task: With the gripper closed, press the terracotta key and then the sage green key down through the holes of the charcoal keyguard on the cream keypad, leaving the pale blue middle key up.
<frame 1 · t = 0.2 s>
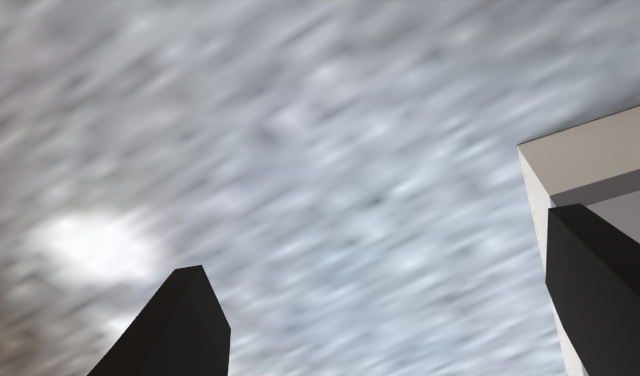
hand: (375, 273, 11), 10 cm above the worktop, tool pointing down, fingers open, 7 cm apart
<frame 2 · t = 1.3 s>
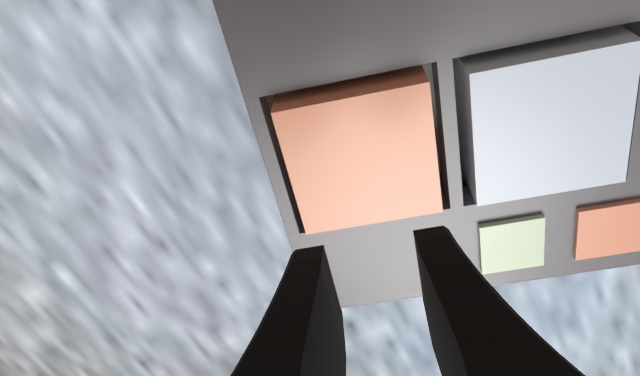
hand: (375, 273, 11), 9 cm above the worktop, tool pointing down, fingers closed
terracotta key: (359, 145, 16), point 4 cm above the worktop, slide at 0.0 cm
keypad: (499, 65, 18), on the worktop
blue key: (537, 112, 15), point 4 cm above the worktop, slide at 0.0 cm
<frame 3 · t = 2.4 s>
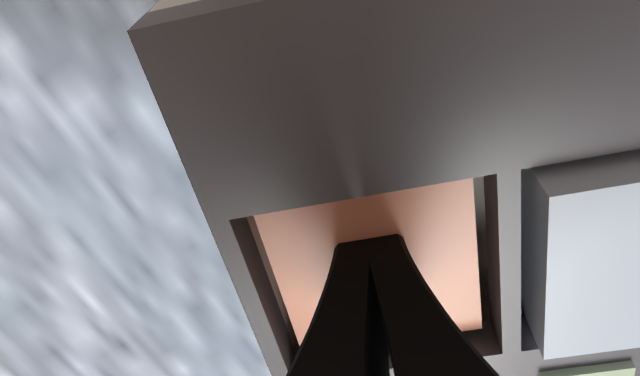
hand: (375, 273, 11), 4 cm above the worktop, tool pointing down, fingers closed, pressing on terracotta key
terracotta key: (372, 240, 12), point 3 cm above the worktop, slide at 1.0 cm, touching gripper
keypad: (559, 140, 14), on the worktop
blue key: (633, 231, 10), point 4 cm above the worktop, slide at 0.0 cm
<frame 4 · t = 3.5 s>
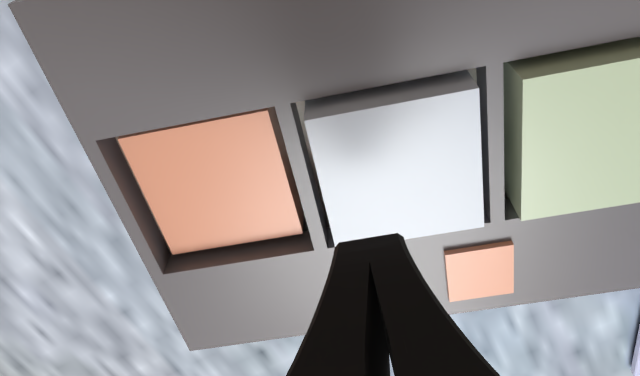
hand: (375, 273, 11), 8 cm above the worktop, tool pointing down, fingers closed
terracotta key: (222, 168, 16), point 3 cm above the worktop, slide at 1.0 cm
keypad: (381, 98, 18), on the worktop
blue key: (394, 155, 14), point 4 cm above the worktop, slide at 0.0 cm
sage key: (588, 121, 14), point 4 cm above the worktop, slide at 0.0 cm
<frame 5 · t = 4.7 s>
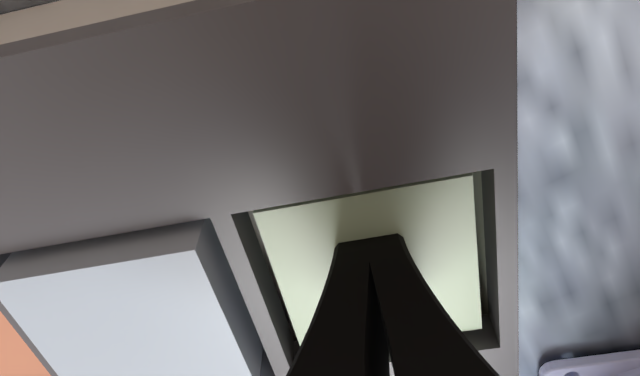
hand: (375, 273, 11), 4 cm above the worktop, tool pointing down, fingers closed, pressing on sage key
keypad: (186, 203, 15), on the worktop
blue key: (149, 301, 12), point 4 cm above the worktop, slide at 0.0 cm
sage key: (372, 240, 12), point 3 cm above the worktop, slide at 0.8 cm, touching gripper
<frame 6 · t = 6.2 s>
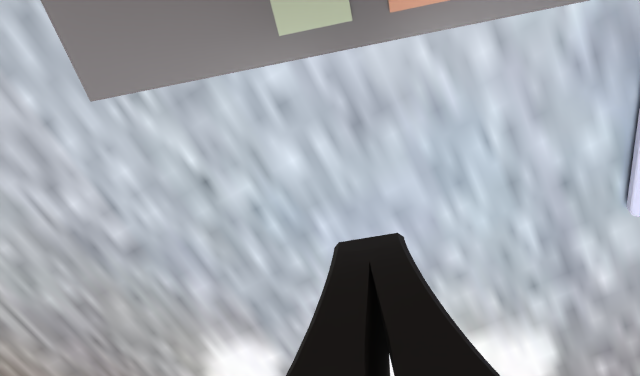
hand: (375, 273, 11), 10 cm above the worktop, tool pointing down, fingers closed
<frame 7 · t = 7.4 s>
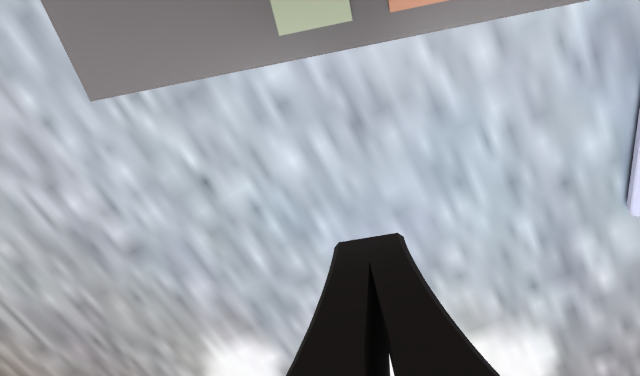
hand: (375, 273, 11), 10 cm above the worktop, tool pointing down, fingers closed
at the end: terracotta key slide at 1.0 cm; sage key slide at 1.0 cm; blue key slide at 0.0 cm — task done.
